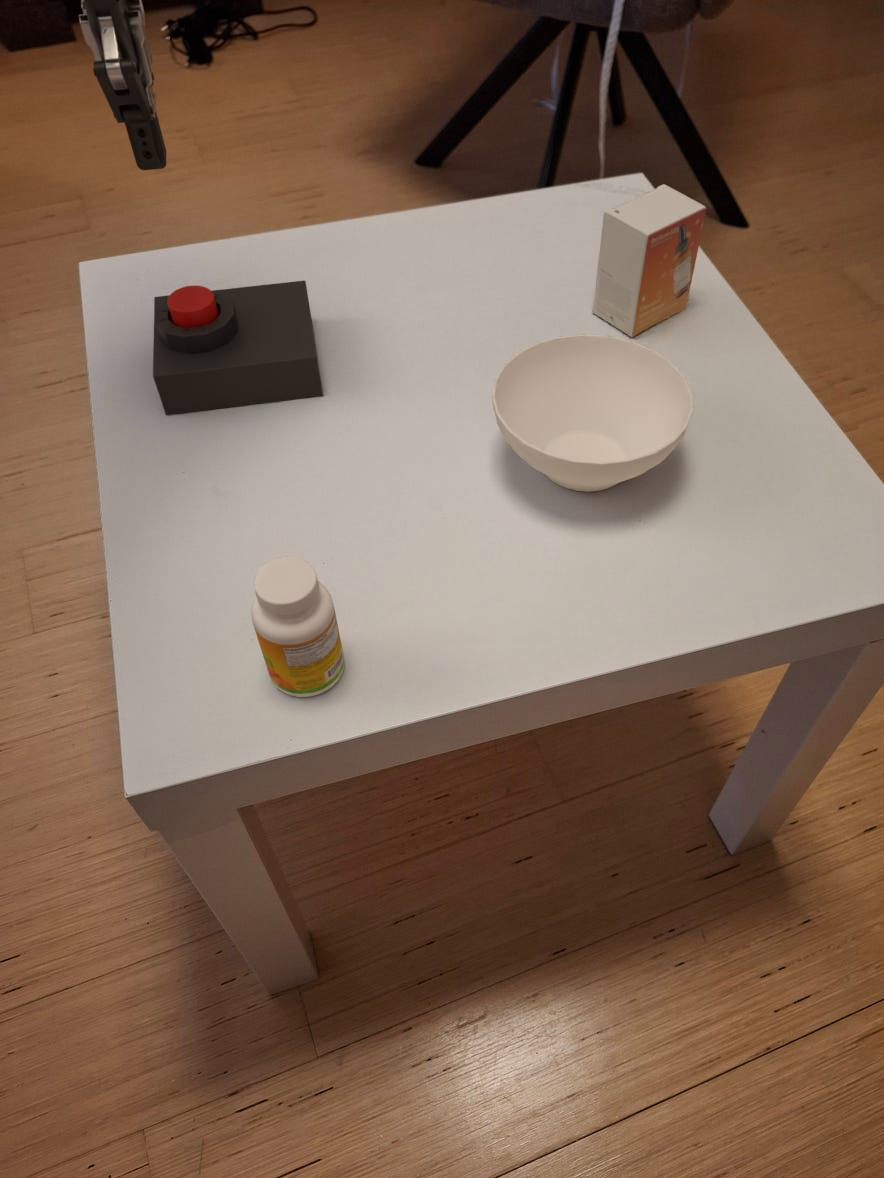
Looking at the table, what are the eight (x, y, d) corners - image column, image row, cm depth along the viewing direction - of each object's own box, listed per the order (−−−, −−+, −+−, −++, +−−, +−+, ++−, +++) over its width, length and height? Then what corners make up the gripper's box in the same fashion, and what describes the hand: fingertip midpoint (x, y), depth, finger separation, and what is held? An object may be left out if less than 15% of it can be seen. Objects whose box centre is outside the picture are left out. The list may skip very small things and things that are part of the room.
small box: (631, 339, 90) (646, 236, 82) (590, 313, 93) (601, 210, 84) (688, 308, 93) (709, 205, 85) (647, 283, 96) (664, 181, 87)
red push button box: (165, 415, 84) (146, 358, 79) (166, 335, 91) (148, 279, 86) (323, 395, 85) (313, 339, 80) (311, 318, 92) (302, 262, 87)
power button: (172, 331, 82) (166, 314, 80) (172, 305, 84) (167, 287, 83) (218, 326, 82) (214, 308, 81) (217, 300, 84) (213, 282, 83)
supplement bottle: (263, 647, 68) (235, 558, 60) (336, 630, 69) (318, 539, 61) (276, 707, 65) (248, 621, 57) (352, 688, 66) (335, 600, 58)
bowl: (597, 560, 73) (606, 495, 68) (452, 463, 80) (449, 396, 74) (716, 459, 80) (734, 392, 75) (574, 377, 87) (580, 310, 81)
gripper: (23, -144, 62) (106, 128, 76) (2, -76, 54) (99, 213, 68) (139, -151, 63) (201, 120, 77) (135, -85, 55) (204, 203, 69)
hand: (153, 163), depth 72 cm, fingers closed
